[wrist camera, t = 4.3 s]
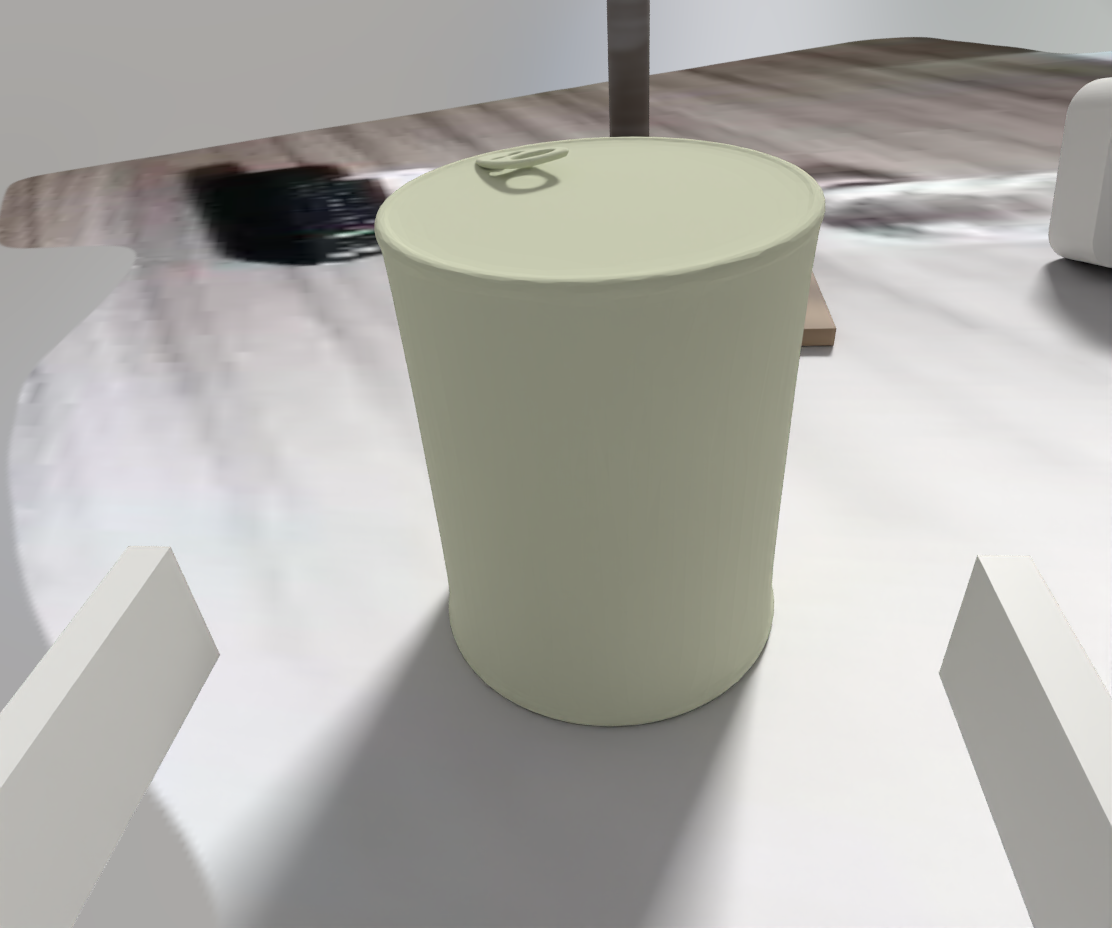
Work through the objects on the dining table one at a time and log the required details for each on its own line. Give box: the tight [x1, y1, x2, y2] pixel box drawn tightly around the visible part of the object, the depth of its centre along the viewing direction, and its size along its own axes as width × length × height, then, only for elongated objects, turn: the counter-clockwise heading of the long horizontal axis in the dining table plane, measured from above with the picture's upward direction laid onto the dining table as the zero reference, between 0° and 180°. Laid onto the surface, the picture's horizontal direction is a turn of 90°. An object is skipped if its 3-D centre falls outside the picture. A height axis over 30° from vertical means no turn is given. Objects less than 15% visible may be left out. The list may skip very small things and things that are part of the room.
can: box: [375, 137, 825, 726], centre depth 20 cm, size 9×9×12 cm
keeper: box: [607, 0, 836, 346], centre depth 40 cm, size 23×18×17 cm
